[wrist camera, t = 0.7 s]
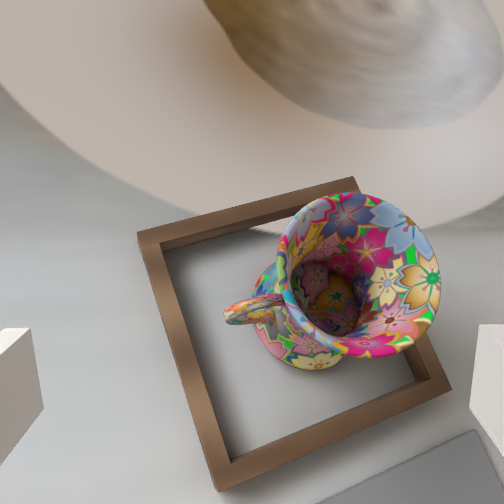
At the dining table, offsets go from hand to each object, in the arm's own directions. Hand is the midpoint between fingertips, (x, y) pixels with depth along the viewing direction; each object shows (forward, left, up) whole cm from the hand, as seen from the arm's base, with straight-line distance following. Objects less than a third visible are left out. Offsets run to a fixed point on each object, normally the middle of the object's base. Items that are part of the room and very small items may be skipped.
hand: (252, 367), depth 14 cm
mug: (-3, +8, -19) cm, 21 cm away
